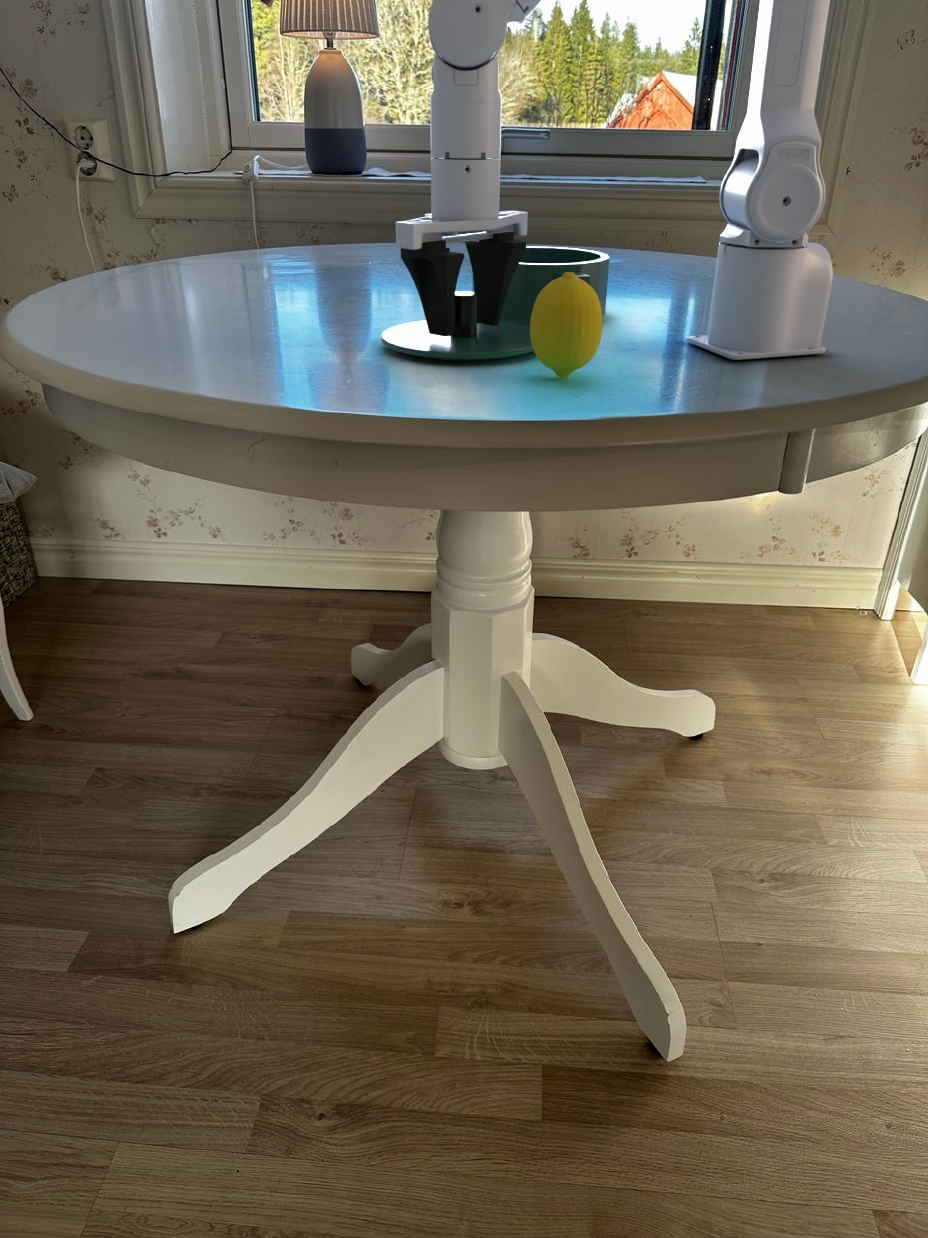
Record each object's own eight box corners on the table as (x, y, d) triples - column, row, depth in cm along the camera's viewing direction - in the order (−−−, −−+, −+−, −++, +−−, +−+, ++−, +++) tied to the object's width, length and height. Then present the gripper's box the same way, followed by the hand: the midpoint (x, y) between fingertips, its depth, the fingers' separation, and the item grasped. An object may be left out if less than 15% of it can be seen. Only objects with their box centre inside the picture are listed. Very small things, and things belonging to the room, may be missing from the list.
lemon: (542, 389, 70) (547, 278, 66) (518, 372, 75) (522, 267, 71) (609, 385, 71) (618, 276, 67) (582, 368, 76) (589, 265, 72)
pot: (562, 297, 106) (565, 241, 103) (639, 329, 90) (645, 265, 87) (448, 302, 102) (448, 245, 99) (508, 337, 86) (510, 271, 83)
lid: (511, 326, 91) (512, 277, 88) (571, 359, 79) (574, 303, 76) (365, 335, 87) (363, 283, 84) (405, 371, 75) (404, 312, 72)
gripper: (486, 154, 82) (483, 312, 89) (366, 158, 73) (373, 334, 79) (549, 157, 78) (541, 322, 85) (431, 161, 69) (432, 347, 75)
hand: (464, 329), depth 82 cm, fingers open, 6 cm apart
